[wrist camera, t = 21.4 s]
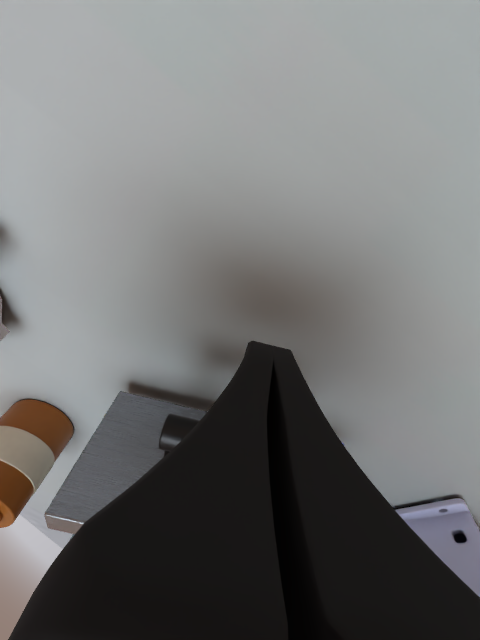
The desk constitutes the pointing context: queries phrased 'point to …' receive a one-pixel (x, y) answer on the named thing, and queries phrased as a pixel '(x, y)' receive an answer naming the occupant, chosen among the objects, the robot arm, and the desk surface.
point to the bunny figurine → (0, 329)
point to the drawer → (119, 456)
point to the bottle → (28, 452)
